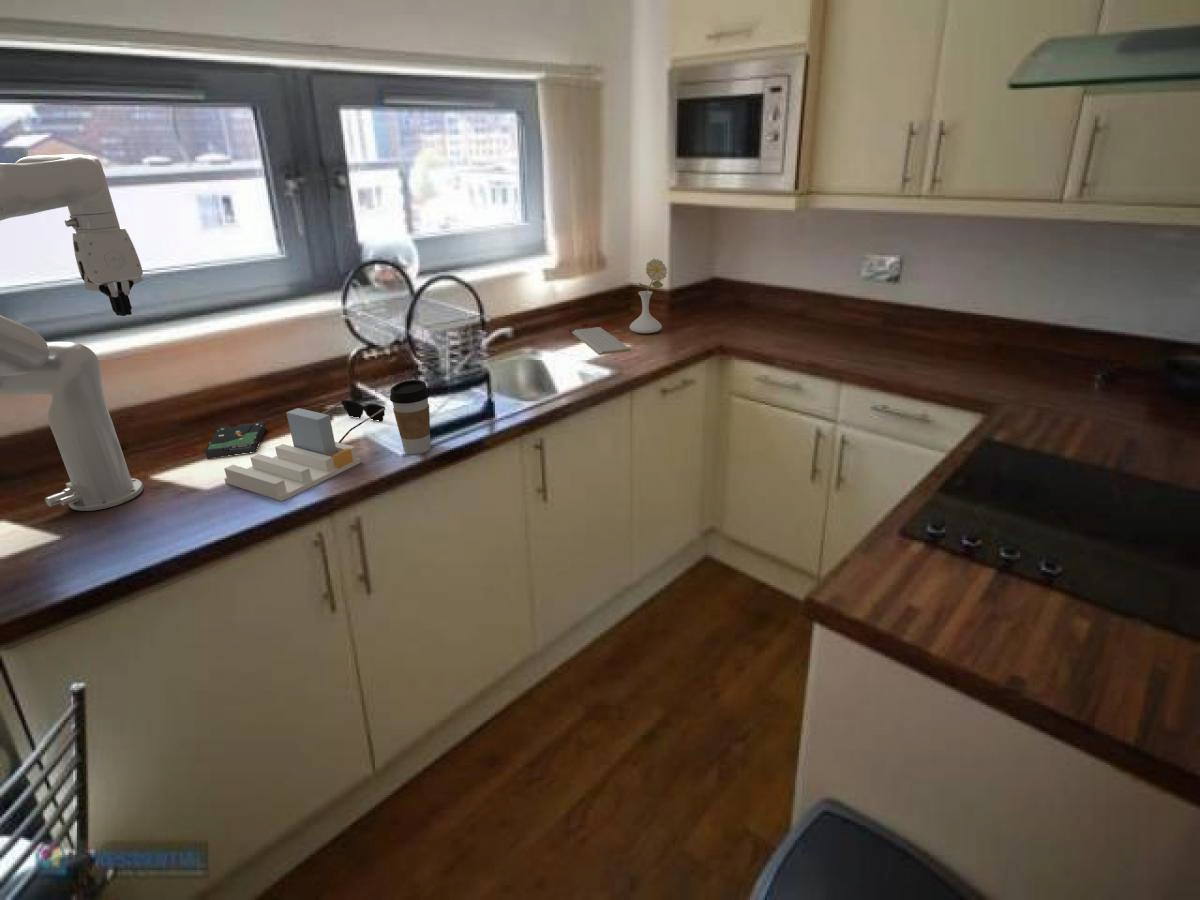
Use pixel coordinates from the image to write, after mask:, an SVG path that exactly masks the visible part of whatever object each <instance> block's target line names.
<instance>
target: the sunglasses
mask: <svg viewBox="0 0 1200 900" xmlns="http://www.w3.org/2000/svg"><path fill="white" fill-rule="evenodd" d="M340 405H342V406H343V409H344V411H346V413H347V415H348V416H349V417H350V416H353V417H359V418H358V419H362V418H361V417H362V416H363V414H364V412H365V414H366V416H367V417H368V418H366V419H365V420H363V421H361V422H359V423H357V424H356V425H354V426H353V427H351V428H350V429H349V430H348V431H347V432H346V433H345V434H343V437H342V438H341V439H339V441H338V443H343V440H344V439H345V438H346V437H347V436H348V435H349V434H350V432H351V431H353V430H355V429H356V428H358V427H359V426H361V425H362V424H364V423H365V422H367V421H369V420H371V419H373V420H379V421H383V422H384V417H385V411H386V407H385V406H383V405H380V404H377V403H369V404H366V405H362V404H361V403H360V402H357V401H355V400H350V399H344V400H343V399H342V400H341V401H340V402H338V403H336V405H333V406H332V407H330V408H327V410H325V411H323V412H321V413H322V414H326V413H327V412H329V411H331V410H333V409H334V408H336V407H338V406H340ZM353 417H352V418H353Z"/></svg>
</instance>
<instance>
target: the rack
mask: <svg viewBox="0 0 1200 900" xmlns="http://www.w3.org/2000/svg"><path fill="white" fill-rule="evenodd" d="M338 442H339V441H338ZM338 442H337V441H335V446H336V451H337V453H336V454H333V457H331V456H327V455H323V454H319V453H315V452H312V451H308V450H304V449H300V448H296V447H294V445H288V444H285V443H282V444H279V445H277V446H275V447H274V448H275V449H274V450H275V452H276V453H275V454H276V456H273V457H270V456H267V455H263V454H260V453H258V454H255V455H253V456H251V457H250V462H251V465H252V466H250V467H247V468H245V467H242V466H238V465H236V464H231V465H229V466H227V467H225V468H224V469H223V471H224V473H225V476H226V477H224V478H223V479H224V482H225V483H226V484H228V485H231V486H234V487H236V488H241V489H243V490H247V491H249V492H253V493H256V494H259V495H261V496H265V497H269V498H271V499H274V498H275V499H274V500H278V501H280V500H281V501H280V502H284V501H285V499H286V500H288V499H289V498H292V497H293V496H296V495H298V494H300V493H302V492H304V491H306V490H308V489H310V488H312V487H315V486H316V485H319V484H320V483H322V482H325V481H327V480H328V479H330V478H332V477H334V476H336V475H339V474H340V473H343V472H345V471H346V470H348V469H351V468H353V467H355V466H357V465H359V464H361V463H362V461H361V457H358V455H357V449H356V446H353V445H350V444H346V443H343V442H341V443H338ZM283 500H284V501H283Z"/></svg>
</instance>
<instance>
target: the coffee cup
mask: <svg viewBox="0 0 1200 900" xmlns="http://www.w3.org/2000/svg"><path fill="white" fill-rule="evenodd" d="M429 392H430V391H429V390H428V388H427V384H426V382H425V381H423V380H420V379H411V380H404V381H401V382H398V383H397V384H395V385H393V386H392V387H391V388H390V395H389V401H390V402H392V406H393V408H392V409H393V414H394V417H395V421H396V424H397V428H398V429H397V430H398V433H399V437H400V440H401V443H402V448H403V452H404V453H406V454H409V455H419V454H422V453H423V454H424V453H426V452H428V451H430V450H431V448H432V447H431V446H432V445H431V421H430V420H431V419H430V403H429V399H428V398H429V397H430V393H429Z"/></svg>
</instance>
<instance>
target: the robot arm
mask: <svg viewBox="0 0 1200 900" xmlns="http://www.w3.org/2000/svg"><path fill="white" fill-rule="evenodd" d="M66 207H67V208H68V212H69V218H68V219H65V220H64V224H65V226H66V227H67V228H73V230H74V232H72V244H73V252H74V256H75V260H76V264H77V269H78V272H79V275H80V277H81V280H82V281H83V282H84V289H85V290H87V291H94V292H95V291H96V292H101V293H102V294H104V295H105V296H106V297H108V298H109V302H110V305H111V306H110V307H111V308H112V311H113V312H114V313H115V315H116V316H121V317H127V316H131V315H133V313H132V308H133V307H132V304H131V301H130V297H129V295H130V294H131V289H132V288H133V286H134V285H137V284H139V283H141V282H142V281H143V277H142V276H143V273H144V271H143V267H142V263H141V261H140V259H139V255H138V253H137V250H136V248H135V246H134V244H133V241H132V238H131V237H130V235H129V233H128V232H127V229H126V227H120V223H119V218H118V216H117V213H116V209H115V206H114V202H113V199H112V196H111V193H110V189H109V186H108V182H107V179H106V175H105V172H104V169H103V165H102V162H101V161H100V160H99V159H98V157H96V156H94V155H93V156H92V155H86V154H85V155H84V154H78V153H77V154H50V155H31V156H25V157H22V158H19V159H18V160H17V161H16V162H15V163H13V162H12V163H11V162H10V163H7V162H5V163H3V162H2V163H1V162H0V222H1V221H3V220H7V219H13V218H15V217H24V216H28V215H33V214H36V213H37V214H38V213H41V212H45V211H50V210H55V209H60V208H66ZM114 283H115V285H114ZM102 382H103V381H102V371H101V364H100V360H99V358H98V356H97V354H96V353H95V352H94V351H93V350H92V349H91V348H89V346H88V347H87V346H86V345H84V344H81V343H77V342H72V341H46V340H45V339H44V337H42V335H40V334H39V333H38V332H37V331H35V330H34V329H32V328H30V327H28V326H26V325H24V324H22V323H20V322H18V321H15V320H13V319H11V318H8V317H6V316H4V315H1V314H0V392H1V393H4V394H9V395H27V396H28V395H51V401H50V406H49V409H48V412H47V421H48V424H49V427H50V430H51V432H52V435H53V437H54V439H55V443H56V445H57V447H58V451H59V453H60V455H61V458H62V462H63V464H64V467H65V469H66V470H65V471H66V472H67V475H68V477H69V480H70V481H69V482H66V483H65V485H66V486H65V488H64V489H62V491H61V492H59V493H54V494H51V495H49V496H46V497H45V498H44V500H45V503H46V504H47V506H48V507H50V508H51V507H53V506H56V505H58V504H61V506H65V505H68V506H69V508H71V509H72V510H75V511H80V512H84V511H85V512H88V511H89V512H90V511H98V510H104V509H108V508H112V507H116V506H118V505H121V504H124V503H127V502H129V501H130V500H132V499H135V498H136V497H138V496H139V495H140V494H142V492H143V490H144V485H143V482H142V481H141V480H139V479H137V478H132V477H131V474H130V471H129V469H128V465H127V462H126V460H125V456H124V452H123V451H122V447H121V444H120V441H119V438H118V435H117V433H116V429H115V426H114V423H113V420H112V418H111V414H110V412H109V409H108V406H107V401H106V398H105V393H104V390H103V383H102Z"/></svg>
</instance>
